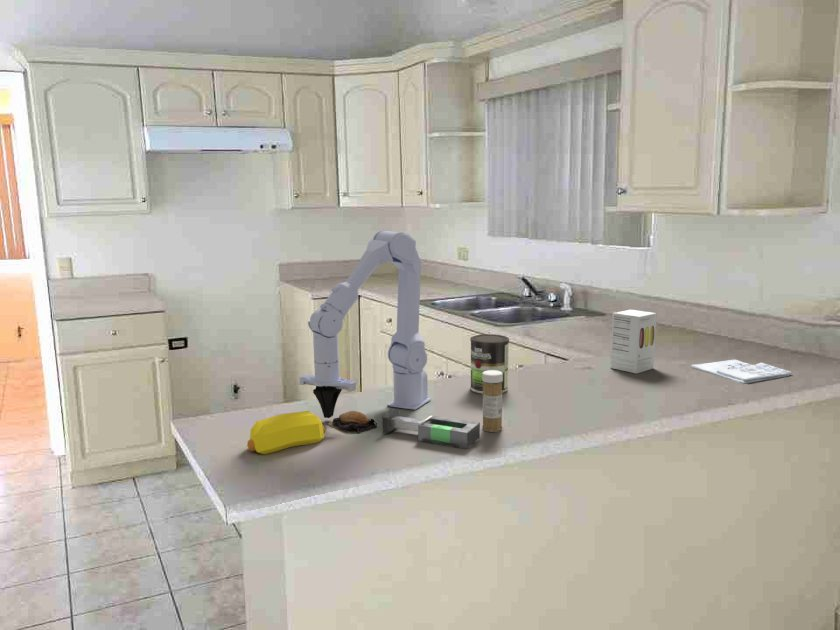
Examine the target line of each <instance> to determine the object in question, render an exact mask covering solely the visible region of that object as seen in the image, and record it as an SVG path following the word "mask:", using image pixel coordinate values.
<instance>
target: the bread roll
mask: <svg viewBox="0 0 840 630" xmlns="http://www.w3.org/2000/svg"><path fill="white" fill-rule="evenodd" d="M327 426H329V427H331V428H334V429H337V430H339V431H343V432H346V433H352V434H353V433H357V434H362V433H366V432H368V431H372V430H375V429H377V428H378V422H376V420H375V419H374V418H370V419H369V417H368V416H367V415H365V414H364V413H362V412H361V411H357V410H349V411H347V412H343V413H341V414H340V415H339V416H338V417H335V418H333V419H332V422H331V421H330V422H329V423H328V422H327Z"/></svg>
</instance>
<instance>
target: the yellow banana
mask: <svg viewBox="0 0 840 630" xmlns="http://www.w3.org/2000/svg"><path fill="white" fill-rule="evenodd" d="M325 427H326V426H325V425H324V424H323V423H322V420H321V419H320V417H318V416H317V415H316V414H313V413H312V412H311V411H310V410H303V411H297V412H286V413H282V414H278V415H274V416H271V417H267V418H264V419H260V420H256V421H255V423H254V424H253V425H252V427H251V428H250V433H249V440H247V445H246V446H247V448H248V451H251V452H256V453H259V454H260V455H261V454H262V455H267V454H271V453H275V452H278V451H283V450H285V449H288V448H292V447H298V446H305V445H310V444H315V443H319V442H320V441H322V440H324V438H325V433H326V428H325Z"/></svg>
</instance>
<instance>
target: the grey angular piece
mask: <svg viewBox="0 0 840 630" xmlns="http://www.w3.org/2000/svg"><path fill="white" fill-rule="evenodd" d="M400 414H401V413H400V409H393V410H392V411H391V412H389V413H387V414H386V415H383V416H381V419H382V434H386V435H387V434H388V435H389V433H391V432H392V431H393V430H395V429H398V430H404V431H405V430H406V431H410V432H417V433H418V425H419V424H425V423H428V424H432V421H429V420H430V419H432V418H433V416H434V415H429V416H428V417H426V418H425V419H420V418H413V417H407V416H406V417H405V416H401V415H400Z"/></svg>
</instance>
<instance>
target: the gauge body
mask: <svg viewBox="0 0 840 630" xmlns="http://www.w3.org/2000/svg"><path fill="white" fill-rule="evenodd" d="M432 416H433V418H432V419H430V420H429V421H432V424H428V423H425V424H419V425H418V432H417V436H418V438H417V439H418V440H417V441H418V442H419V443H428V444H434V445H440V446H446V447H452V448H458V449H465V450H468V449H470V447H472V446H473V445H474V444H475V443H476V442H478V440H480V438H481V429H480V428H481V423H480V421H479V422H478V421H474V420H473V421H472V420H465V419H457V418H452V417H445V416H436V415H432Z"/></svg>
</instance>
